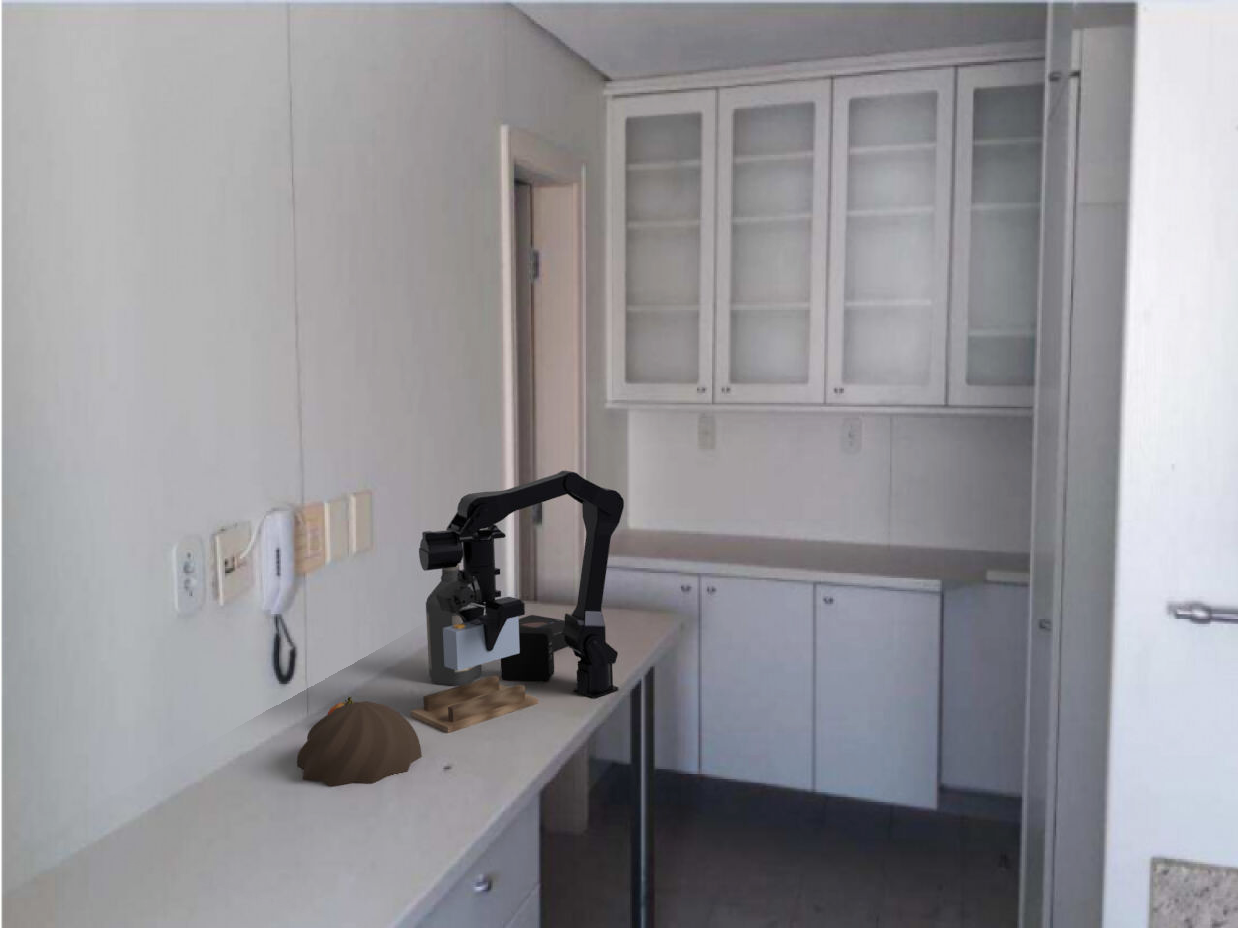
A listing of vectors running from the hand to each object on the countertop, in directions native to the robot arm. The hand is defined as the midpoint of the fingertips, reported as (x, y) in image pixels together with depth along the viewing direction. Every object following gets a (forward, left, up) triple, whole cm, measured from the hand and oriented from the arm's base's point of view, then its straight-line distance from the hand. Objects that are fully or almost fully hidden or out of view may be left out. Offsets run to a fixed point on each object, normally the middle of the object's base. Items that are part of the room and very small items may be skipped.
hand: (482, 648), depth 182 cm
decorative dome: (+27, +3, -13) cm, 30 cm away
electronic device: (-18, -10, -12) cm, 24 cm away
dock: (0, -3, -12) cm, 12 cm away
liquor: (-8, -21, -12) cm, 25 cm away
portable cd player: (-35, -29, -13) cm, 47 cm away
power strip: (0, 0, -2) cm, 2 cm away
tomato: (+20, -13, -13) cm, 27 cm away
